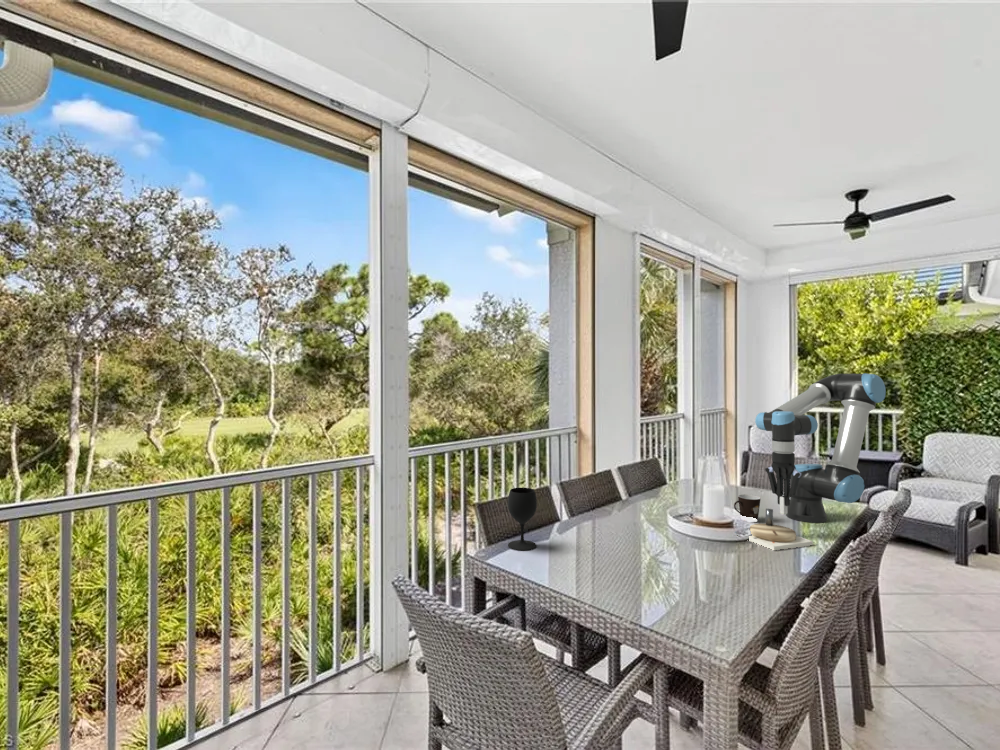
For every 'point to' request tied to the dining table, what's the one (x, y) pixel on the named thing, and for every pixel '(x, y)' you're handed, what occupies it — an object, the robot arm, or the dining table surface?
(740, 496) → the coffee mug
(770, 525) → the dial
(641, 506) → the dining table surface
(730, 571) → the dining table surface
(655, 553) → the dining table surface
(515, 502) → the wine glass
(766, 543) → the base plate
